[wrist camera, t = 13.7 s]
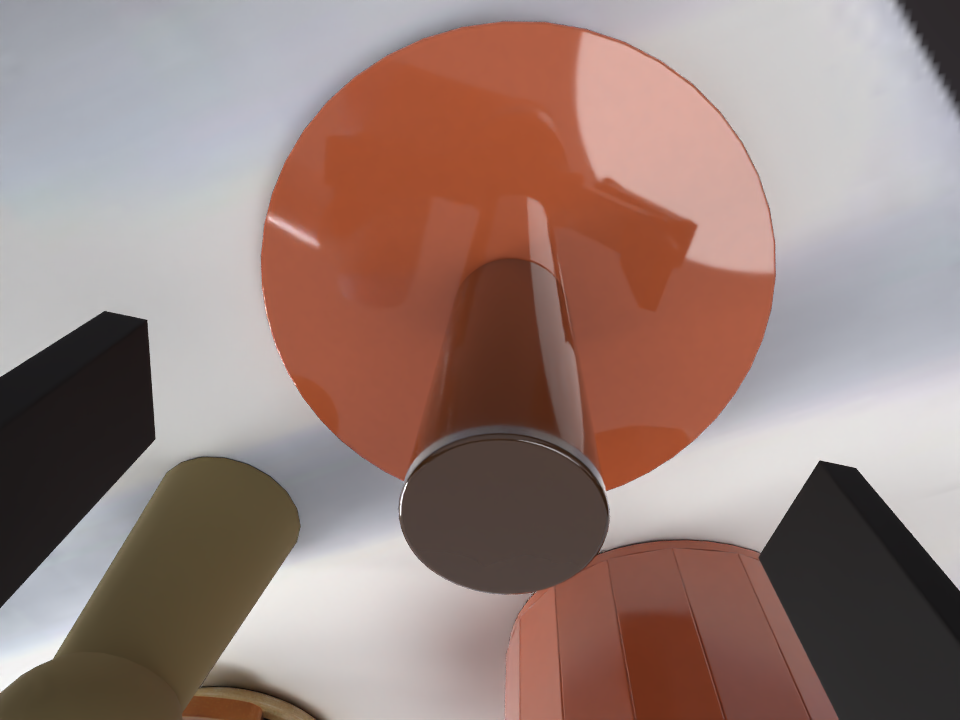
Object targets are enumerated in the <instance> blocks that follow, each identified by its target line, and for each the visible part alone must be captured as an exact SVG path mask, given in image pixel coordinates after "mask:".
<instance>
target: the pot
mask: <svg viewBox="0 0 960 720" xmlns="http://www.w3.org/2000/svg"><path fill="white" fill-rule="evenodd" d="M760 554H761V553H758V552H755V551H752V550H749V549H745V548H741V547H737V546H734V545H728V544H722V543H716V542H710V541H693V540H671V541H656V542H648V543H641V544H635V545H630V546H626V547H621V548H617V549H613V550H610V551H607V552H604V553H601V554H598V555H596V556H595V558H594V559H593V560H592V561H591V562H590V563H589V564H588V565H587V566H586V567H585V568H584V569H583V570H582V571H581V572H579V573H578V574H577V575H575V576H574V577H572V578H570V579H569V580H567V581H565V582H563V583H561V584H558V585H556V586H554V587H551V588H548V589H545V590H541V591H536V593H535V594H534V595H533V596H532V597H531V598H530V599H529V600H528V601H527V603H526V604H525V605H524V607H523V608H522V610H521V611H520V612H519V615H518V617H517V619H516V621H515V623H514V625H513V627H512V631H511V635H510V639H509V647H508V650H507V652H506V683H505V720H839V719H838V717H837V714H836V712H835V710H834V708H833V706H832V704H831V702H830V700H829V698H828V696H827V694H826V692H825V690H824V688H823V686H822V684H821V682H820V680H819V678H818V676H817V674H816V672H815V670H814V668H813V666H812V664H811V662H810V660H809V658H808V656H807V654H806V652H805V650H804V648H803V646H802V644H801V642H800V640H799V638H798V636H797V634H796V632H795V630H794V628H793V626H792V624H791V622H790V620H789V618H788V616H787V614H786V612H785V610H784V608H783V606H782V604H781V602H780V600H779V598H778V596H777V594H776V592H775V590H774V588H773V586H772V584H771V582H770V580H769V578H768V576H767V574H766V572H765V570H764V568H763V566H762V564H761V562H760V560H759V558H758V557H759V555H760Z"/></svg>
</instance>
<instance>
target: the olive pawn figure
mask: <svg viewBox="0 0 960 720" xmlns="http://www.w3.org/2000/svg"><path fill="white" fill-rule="evenodd" d="M299 530H300V521H299V516H298V511H297V508H296V507H295V505H294V503H293V502H292V500H291V498H290V497H289V495H288V493H287V492H286V491H285V490H284V489H283V488H282V487H281V486H280V485H279V484H278V483H276V482H275V481H274V480H273V479H272V478H271V477H270V476H268V475H266V474H265V473H263V472H261V471H259V470H257V469H256V468H254V467H252V466H250V465H248V464H244V463H241V462H237V461H234V460H231V459H227V458H213V457H200V458H196V459H192V460H188V461H184V462H181V463H180V464H178V465H177V466H175V467H174V468H173V469H171V470H170V471H168V472H167V473H166V475H165V476H164V478H163V480H162V481H161V483H160V484H159V486H158V488H157V489H156V491H155V493H154V494H153V496H152V498H151V499H150V501H149V502H148V504H147V506H146V507H145V509H144V511H143V512H142V514H141V516H140V517H139V519H138V521H137V522H136V524H135V525H134V527H133V529H132V530H131V532H130V534H129V535H128V537H127V539H126V540H125V542H124V543H123V545H122V547H121V548H120V550H119V552H118V553H117V555H116V557H115V558H114V560H113V562H112V563H111V565H110V566H109V568H108V570H107V571H106V573H105V575H104V576H103V578H102V580H101V581H100V583H99V585H98V586H97V588H96V589H95V591H94V593H93V594H92V596H91V598H90V599H89V601H88V603H87V604H86V606H85V607H84V609H83V611H82V612H81V614H80V616H79V617H78V619H77V621H76V622H75V624H74V626H73V627H72V629H71V630H70V632H69V634H68V635H67V637H66V639H65V640H64V642H63V644H62V645H61V647H60V648H59V650H58V652H57V653H56V655H55V657H54V658H53V660H51V661H48V662H46V663H44V664H41V665H39V666H37V667H35V668H33V669H32V670H30V671H28V672H26V673H25V674H23V675H21V676H20V677H19V678H18V679H16V680H15V681H14V682H13V683H12V684H10V685H9V686H8V687H7V688H6V689H4V690H3V691H2V692H1V693H0V720H183V719H182V713H183V711H184V710H185V708H186V707H187V705H188V704H189V702H190V701H191V699H192V698H193V696H194V695H195V693H196V692H197V690H198V689H199V687H200V686H201V684H202V683H203V681H204V680H205V678H206V677H207V675H208V674H209V672H210V671H211V669H212V668H213V666H214V665H215V663H216V662H217V660H218V659H219V657H220V656H221V654H222V653H223V651H224V650H225V648H226V647H227V645H228V644H229V642H230V641H231V639H232V638H233V636H234V635H235V633H236V632H237V630H238V629H239V627H240V626H241V624H242V623H243V621H244V620H245V618H246V617H247V616H248V614H249V613H250V611H251V610H252V608H253V607H254V605H255V604H256V602H257V601H258V599H259V598H260V596H261V595H262V593H263V592H264V590H265V589H266V587H267V586H268V584H269V583H270V581H271V580H272V578H273V577H274V575H275V574H276V572H277V571H278V569H279V568H280V566H281V565H282V563H283V562H284V560H285V559H286V557H287V556H288V554H289V553H290V551H291V550H292V548H293V547H294V545H295V544H296V542H297V539H298V535H299Z"/></svg>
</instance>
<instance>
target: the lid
mask: <svg viewBox="0 0 960 720" xmlns="http://www.w3.org/2000/svg"><path fill="white" fill-rule="evenodd" d="M261 273H262V291H263V297H264V303H265V309H266V315H267V320H268V323H269V326H270V329H271V332H272V336H273V339H274V342H275V345H276V348H277V350H278V352H279V355H280V357H281V359H282V361H283V363H284V366H285V368H286V370H287V372H288V374H289V376H290V377H291V379H292V381H293V382H294V384H295V386H296V387H297V389H298V390H299V392H300V394H301V395H302V397H303V398H304V400H305V401H306V402H307V404H308V405H309V406H310V407H311V409H312V410H313V411H314V412H315V414H316V415H317V416H318V417H319V419H320V420H321V421H322V422H323V423H324V424H325V425H326V426H327V427H328V428H329V429H330V430H331V431H332V432H333V433H334V434H335V435H336V436H337V437H338V438H339V439H340V440H341V441H342V442H344V443H345V444H346V445H347V446H349V447H350V448H351V449H352V450H354V451H355V452H356V453H357V454H359V455H360V456H361V457H362V458H364V459H366V460H367V461H369V462H370V463H372V464H373V465H375V466H376V467H378V468H380V469H381V470H383V471H384V472H386V473H388V474H390V475H392V476H394V477H396V478H398V479H400V480H402V481H404V483H403V487H402V490H401V494H400V498H399V507H398V510H399V520H400V525H401V529H402V532H403V534H404V537H405V539H406V541H407V543H408V545H409V546H410V548H411V550H412V551H413V552H414V554H415V555H416V556H417V557H418V559H419V560H420V561H421V562H422V563H424V564H425V565H426V566H427V567H428V568H429V569H431V570H432V571H433V572H435V573H436V574H437V575H439V576H441V577H442V578H444V579H446V580H448V581H450V582H452V583H454V584H456V585H459V586H462V587H465V588H468V589H471V590H475V591H479V592H485V593H491V594H504V595H509V594H525V593H532V592H536V591H541V590H545V589H548V588H551V587H554V586H556V585H558V584H561V583H563V582H565V581H567V580H569V579H570V578H572V577H574V576H575V575H577V574H578V573H579V572H581V571H582V570H583V569H584V568H585V567H586V566H587V565H588V564H589V563H590V562H591V561H592V560H593V559H594V558H595V556H596V555H597V554H598V552H599V550H600V549H601V547H602V545H603V543H604V541H605V538H606V535H607V532H608V527H609V521H610V509H609V504H608V499H607V494H606V491H608V490H611V489H613V488H616V487H619V486H622V485H624V484H626V483H628V482H630V481H632V480H634V479H636V478H639V477H641V476H643V475H645V474H647V473H649V472H650V471H652V470H654V469H655V468H657V467H658V466H660V465H661V464H663V463H665V462H666V461H668V460H669V459H671V458H673V457H674V456H675V455H676V454H678V453H679V452H680V451H681V450H683V449H684V448H685V447H686V446H688V445H689V444H690V443H691V442H693V441H694V440H695V439H696V438H697V437H698V436H699V435H700V434H701V433H702V432H703V431H704V430H705V429H706V428H707V427H708V426H709V425H710V424H711V423H712V422H713V421H714V420H715V419H716V418H717V417H718V415H719V414H720V413H721V412H722V410H723V409H724V408H725V406H726V405H727V404H728V403H729V401H730V400H731V399H732V397H733V396H734V395H735V393H736V392H737V390H738V388H739V387H740V385H741V383H742V382H743V380H744V378H745V377H746V375H747V373H748V371H749V370H750V368H751V366H752V363H753V361H754V359H755V356H756V354H757V352H758V349H759V347H760V345H761V342H762V340H763V337H764V333H765V330H766V326H767V323H768V319H769V315H770V312H771V307H772V300H773V292H774V285H775V277H776V265H775V238H774V232H773V226H772V220H771V214H770V208H769V205H768V202H767V199H766V196H765V193H764V189H763V186H762V183H761V180H760V177H759V174H758V172H757V170H756V168H755V166H754V164H753V162H752V160H751V158H750V156H749V154H748V153H747V151H746V149H745V147H744V145H743V143H742V141H741V140H740V138H739V137H738V135H737V134H736V133H735V131H734V130H733V129H732V127H731V126H730V124H729V123H728V122H727V120H726V119H725V117H724V116H723V115H722V113H721V112H720V111H719V110H718V109H717V108H716V107H715V106H714V105H713V104H712V103H711V102H710V101H709V100H708V99H707V98H706V97H705V96H704V95H703V94H702V93H701V92H700V91H699V90H698V89H697V88H696V87H695V86H694V85H693V84H692V83H691V82H690V81H688V80H687V79H685V78H684V77H683V76H681V75H680V74H679V73H677V72H676V71H675V70H673V69H672V68H670V67H669V66H668V65H666V64H665V63H664V62H662V61H661V60H659V59H657V58H655V57H653V56H651V55H649V54H647V53H645V52H644V51H642V50H640V49H638V48H636V47H634V46H632V45H630V44H628V43H626V42H624V41H621V40H618V39H615V38H612V37H609V36H606V35H603V34H600V33H597V32H594V31H591V30H588V29H584V28H578V27H572V26H567V25H561V24H555V23H549V22H527V21H501V22H493V23H486V24H478V25H471V26H464V27H460V28H456V29H453V30H449V31H446V32H443V33H439V34H436V35H432V36H429V37H426V38H423V39H421V40H418V41H416V42H414V43H412V44H410V45H408V46H406V47H403V48H401V49H399V50H397V51H395V52H393V53H390V54H388V55H387V56H385V57H384V58H382V59H381V60H379V61H378V62H376V63H374V64H373V65H371V66H370V67H368V68H367V69H365V70H364V71H362V72H361V73H359V74H358V75H356V76H355V77H354V78H353V79H352V80H350V81H349V82H348V83H347V84H346V85H345V86H344V87H343V88H342V89H341V90H339V91H338V92H337V93H336V94H335V95H334V96H333V97H332V98H331V99H329V100H328V101H327V102H326V104H325V105H324V106H323V107H322V108H321V110H320V111H319V112H318V113H317V115H316V116H315V117H314V118H313V119H312V121H311V122H310V123H309V124H308V126H307V127H306V128H305V129H304V130H303V132H302V134H301V135H300V137H299V139H298V141H297V142H296V144H295V146H294V147H293V149H292V151H291V152H290V154H289V156H288V157H287V159H286V161H285V163H284V165H283V168H282V170H281V173H280V175H279V178H278V180H277V182H276V185H275V187H274V190H273V192H272V196H271V200H270V204H269V208H268V212H267V216H266V220H265V224H264V232H263V242H262V251H261Z"/></svg>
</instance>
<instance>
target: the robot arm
mask: <svg viewBox="0 0 960 720" xmlns="http://www.w3.org/2000/svg"><path fill="white" fill-rule="evenodd" d="M154 440H155V425H154V411H153V396H152V382H151V367H150V353H149V338H148V324H147V320H145V319H140V318H136V317H131V316H126V315H121V314H116V313H112V312H107V311H104V312H102V313H101V314H99V315H98V316H96V317H95V318H93V319H91V320H90V321H88V322H87V323H85V324H83V325H82V326H80V327H79V328H77V329H76V330H74V331H72V332H71V333H69V334H68V335H66V336H65V337H63V338H61V339H60V340H58V341H57V342H55V343H53V344H52V345H50V346H49V347H47V348H46V349H44V350H42V351H41V352H39V353H38V354H36V355H35V356H33V357H31V358H30V359H28V360H27V361H25V362H23V363H22V364H20V365H19V366H17V367H16V368H14V369H12V370H11V371H9V372H8V373H6V374H5V375H3V376H1V377H0V608H1V607H2V606H3V605H4V603H5V602H6V601H7V600H8V599H9V598H10V597H11V596H12V595H13V594H14V593H15V591H16V590H17V589H18V588H19V587H20V586H21V585H22V584H23V583H24V582H25V581H26V580H27V578H28V577H29V576H30V575H31V574H32V573H33V572H34V571H35V570H36V569H37V568H38V566H39V565H40V564H41V563H42V562H43V561H44V560H45V559H46V558H47V557H48V556H49V554H50V553H51V552H52V551H53V550H54V549H55V548H56V547H57V546H58V545H59V544H60V543H61V541H62V540H63V539H64V538H65V537H66V536H67V535H68V534H69V533H70V532H71V531H72V529H73V528H74V527H75V526H76V525H77V524H78V523H79V522H80V521H81V520H82V519H83V517H84V516H85V515H86V514H87V513H88V512H89V511H90V510H91V509H92V508H93V507H94V506H95V504H96V503H97V502H98V501H99V500H100V499H101V498H102V497H103V496H104V495H105V494H106V492H107V491H108V490H109V489H110V488H111V487H112V486H113V485H114V484H115V483H116V482H117V481H118V479H119V478H120V477H121V476H122V475H123V474H124V473H125V472H126V471H127V470H128V469H129V467H130V466H131V465H132V464H133V463H134V462H135V461H136V460H137V459H138V458H139V457H140V455H141V454H142V453H143V452H144V451H145V450H146V449H147V448H148V447H149V446H150V445H151V444H152V442H153V441H154ZM758 558H759V560H760V562H761V564H762V566H763V568H764V570H765V572H766V574H767V576H768V578H769V580H770V582H771V584H772V586H773V588H774V590H775V592H776V594H777V596H778V598H779V600H780V602H781V604H782V606H783V608H784V610H785V612H786V614H787V616H788V618H789V620H790V622H791V624H792V626H793V628H794V630H795V632H796V634H797V636H798V638H799V640H800V642H801V644H802V646H803V648H804V650H805V652H806V654H807V656H808V658H809V660H810V662H811V664H812V666H813V668H814V670H815V672H816V674H817V676H818V678H819V680H820V682H821V684H822V686H823V688H824V690H825V692H826V694H827V696H828V698H829V700H830V702H831V704H832V706H833V708H834V710H835V712H836V714H837V717H838V719H839V720H960V591H959V590H958V588H957V587H956V586H955V585H954V584H953V583H952V581H951V580H950V579H949V578H948V577H947V575H946V574H945V573H944V572H943V571H942V570H941V568H940V567H939V566H938V565H937V564H936V562H935V561H934V560H933V559H932V558H931V556H930V555H929V554H928V553H927V552H926V551H925V549H924V548H923V547H922V546H921V545H920V543H919V542H918V541H917V540H916V539H915V538H914V536H913V535H912V534H911V533H910V532H909V530H908V529H907V528H906V527H905V526H904V524H903V523H902V522H901V521H900V520H899V519H898V517H897V516H896V515H895V514H894V513H893V511H892V510H891V509H890V508H889V507H888V506H887V504H886V503H885V502H884V501H883V500H882V498H881V497H880V496H879V495H878V494H877V492H876V491H875V490H874V489H873V488H872V487H871V485H870V484H869V483H868V482H867V481H866V479H865V478H864V477H863V476H862V475H861V474H860V472H859V471H858V470H857V469H856V468H853V467H848V466H844V465H839V464H834V463H829V462H824V461H819V462H818V464H817V466H816V467H815V469H814V470H813V472H812V473H811V475H810V477H809V478H808V480H807V481H806V483H805V484H804V486H803V488H802V489H801V491H800V492H799V494H798V495H797V497H796V499H795V500H794V502H793V503H792V505H791V506H790V508H789V510H788V511H787V513H786V514H785V516H784V518H783V519H782V521H781V522H780V524H779V525H778V527H777V529H776V530H775V532H774V533H773V535H772V536H771V538H770V540H769V541H768V543H767V544H766V546H765V547H764V549H763V551H762V552H761V554H760V555H759V557H758Z"/></svg>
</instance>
